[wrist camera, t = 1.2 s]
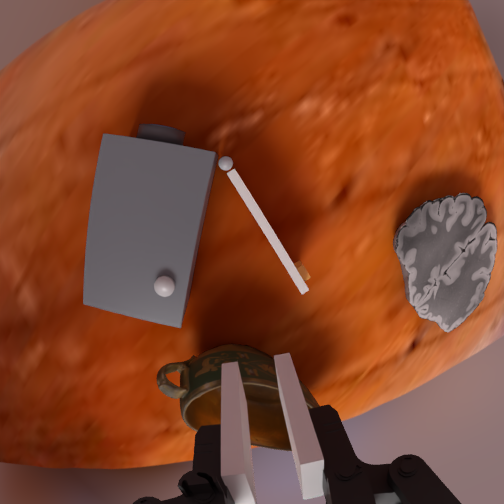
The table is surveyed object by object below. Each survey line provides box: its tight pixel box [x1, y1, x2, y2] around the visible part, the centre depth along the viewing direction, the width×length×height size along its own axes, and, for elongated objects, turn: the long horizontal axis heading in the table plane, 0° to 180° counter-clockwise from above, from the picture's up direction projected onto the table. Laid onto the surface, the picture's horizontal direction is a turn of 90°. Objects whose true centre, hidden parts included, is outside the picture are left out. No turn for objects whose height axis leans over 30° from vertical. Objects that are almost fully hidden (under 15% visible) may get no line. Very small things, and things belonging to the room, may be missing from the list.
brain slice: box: [393, 193, 497, 332], centre depth 35 cm, size 20×17×3 cm
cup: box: [157, 344, 320, 451], centre depth 33 cm, size 13×20×10 cm, turn 29°
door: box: [219, 156, 311, 294], centre depth 30 cm, size 2×14×6 cm, turn 32°
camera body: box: [83, 124, 218, 328], centre depth 28 cm, size 10×18×8 cm, turn 167°
